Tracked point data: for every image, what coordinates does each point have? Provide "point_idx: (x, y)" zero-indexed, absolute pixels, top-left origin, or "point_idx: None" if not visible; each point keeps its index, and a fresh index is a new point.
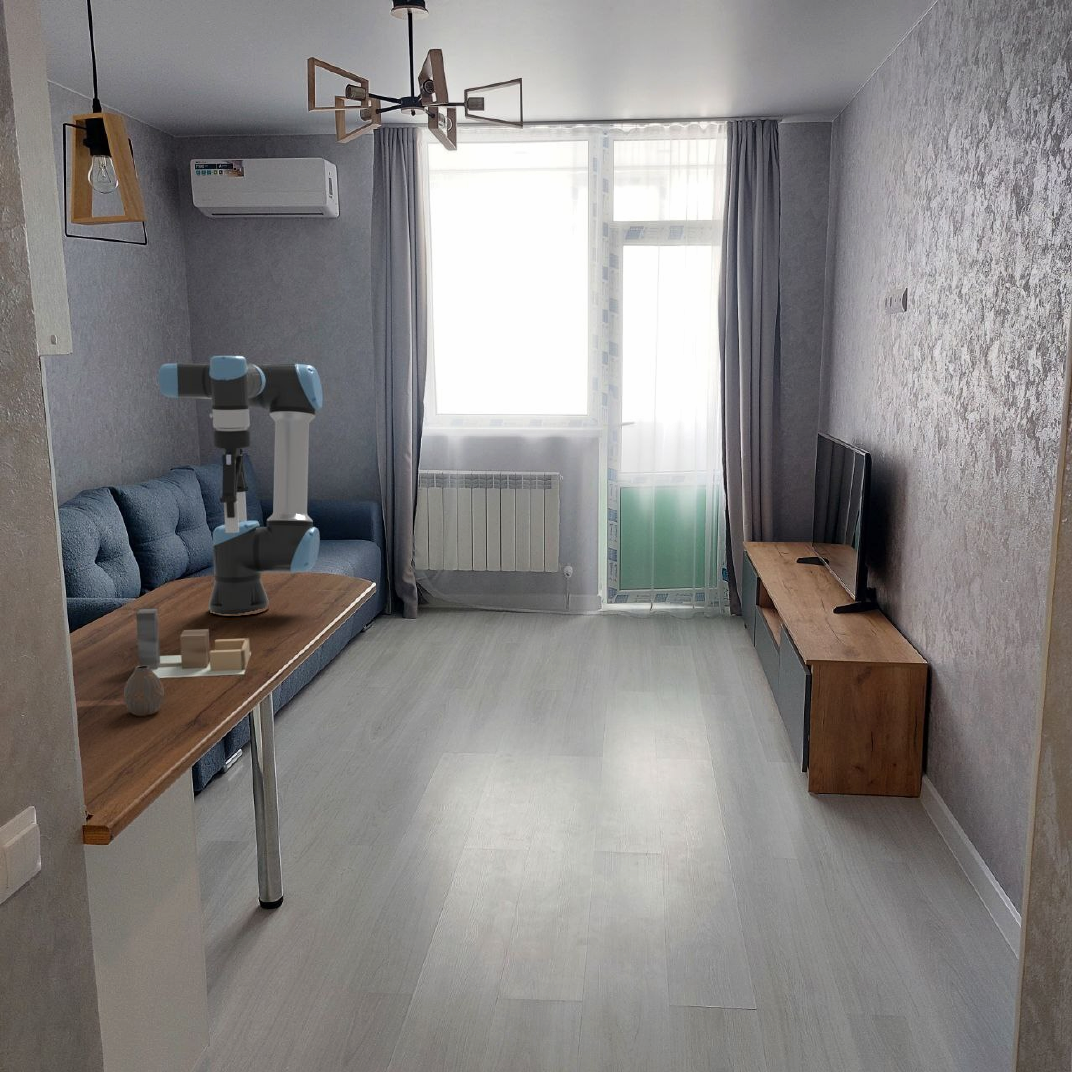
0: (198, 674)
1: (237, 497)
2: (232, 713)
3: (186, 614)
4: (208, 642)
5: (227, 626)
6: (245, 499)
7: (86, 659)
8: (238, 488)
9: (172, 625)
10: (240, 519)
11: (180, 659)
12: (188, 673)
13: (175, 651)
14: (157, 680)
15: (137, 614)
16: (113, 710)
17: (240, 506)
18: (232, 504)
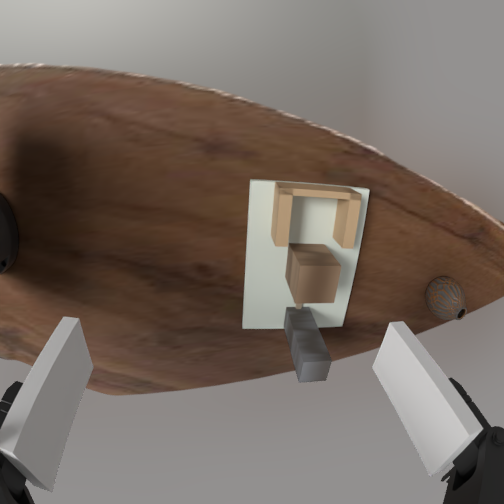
0: (352, 252)
1: (46, 452)
2: (468, 203)
3: (14, 297)
4: (303, 256)
5: (60, 236)
6: (19, 405)
7: (220, 381)
8: (11, 488)
9: (62, 311)
10: (83, 347)
11: (268, 285)
12: (343, 265)
13: (196, 296)
14: (461, 291)
15: (325, 378)
16: (416, 316)
17: (56, 397)
18: (485, 427)
